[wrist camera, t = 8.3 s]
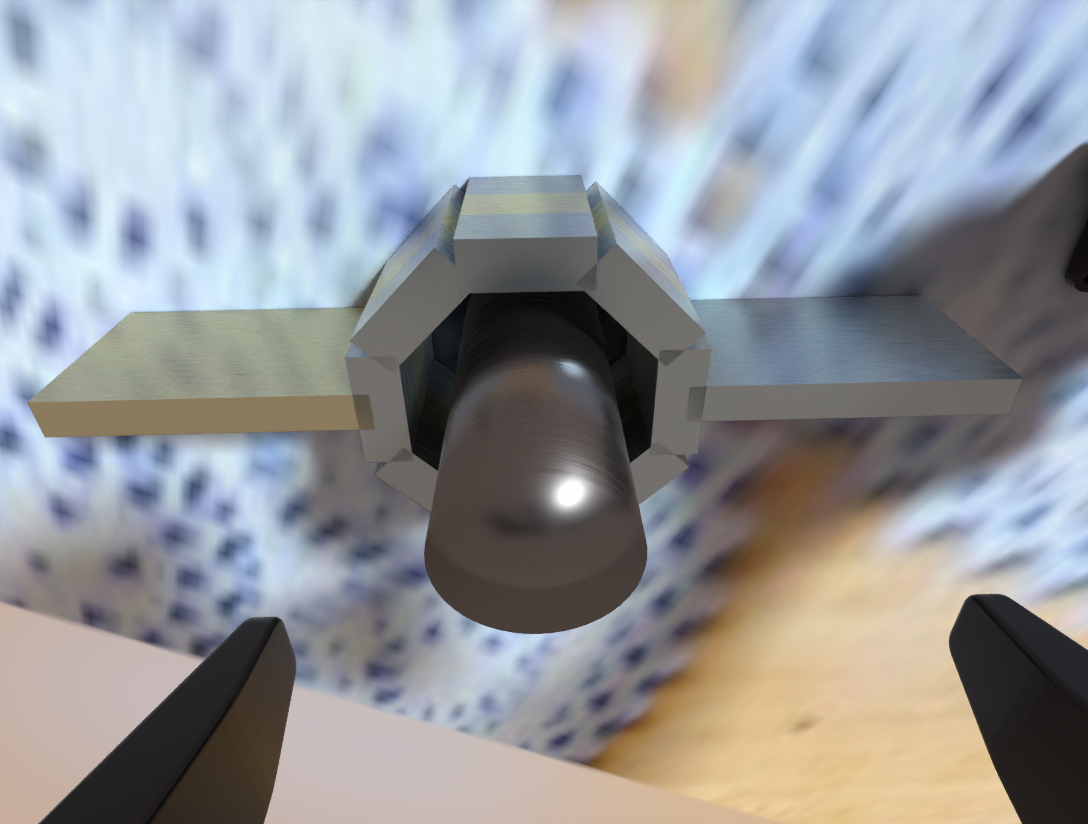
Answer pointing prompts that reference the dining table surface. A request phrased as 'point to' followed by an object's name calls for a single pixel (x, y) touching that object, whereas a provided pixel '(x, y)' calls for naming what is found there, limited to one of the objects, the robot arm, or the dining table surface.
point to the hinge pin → (534, 471)
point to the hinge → (524, 266)
